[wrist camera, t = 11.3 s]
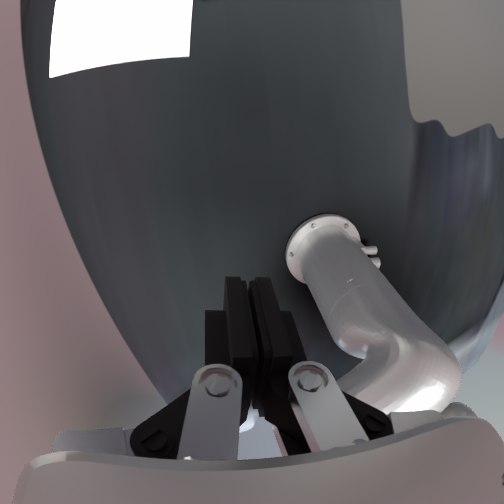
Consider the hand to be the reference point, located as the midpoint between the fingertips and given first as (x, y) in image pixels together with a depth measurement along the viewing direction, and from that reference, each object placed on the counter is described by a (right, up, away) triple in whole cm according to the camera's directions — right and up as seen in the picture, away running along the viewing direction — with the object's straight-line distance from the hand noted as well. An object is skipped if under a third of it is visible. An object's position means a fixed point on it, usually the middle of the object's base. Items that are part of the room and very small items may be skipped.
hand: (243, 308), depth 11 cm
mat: (-17, +33, +13) cm, 39 cm away
